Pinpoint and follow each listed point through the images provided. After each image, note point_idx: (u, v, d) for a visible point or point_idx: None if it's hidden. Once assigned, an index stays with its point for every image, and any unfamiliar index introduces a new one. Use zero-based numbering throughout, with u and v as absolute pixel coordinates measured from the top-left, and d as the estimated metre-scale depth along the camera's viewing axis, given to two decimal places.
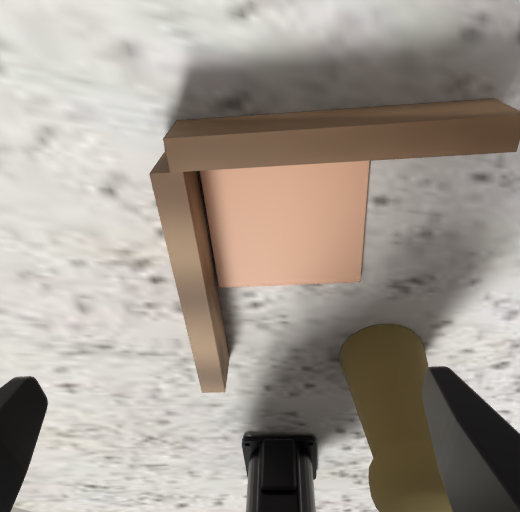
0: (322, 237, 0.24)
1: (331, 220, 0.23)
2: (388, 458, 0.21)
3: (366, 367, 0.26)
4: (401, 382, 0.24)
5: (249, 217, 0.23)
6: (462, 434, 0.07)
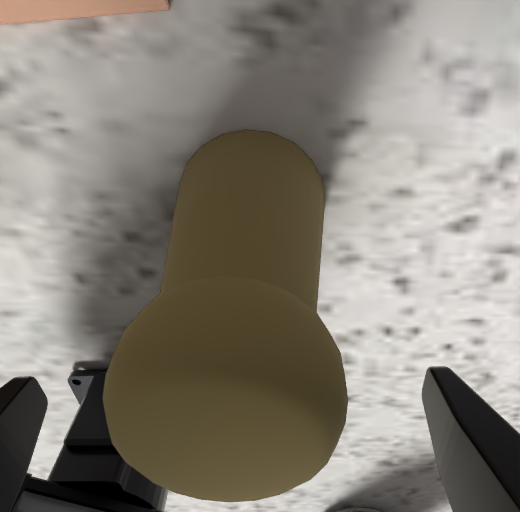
0: None
1: None
2: (138, 316, 0.08)
3: (189, 190, 0.13)
4: (237, 196, 0.12)
5: None
6: (462, 434, 0.07)
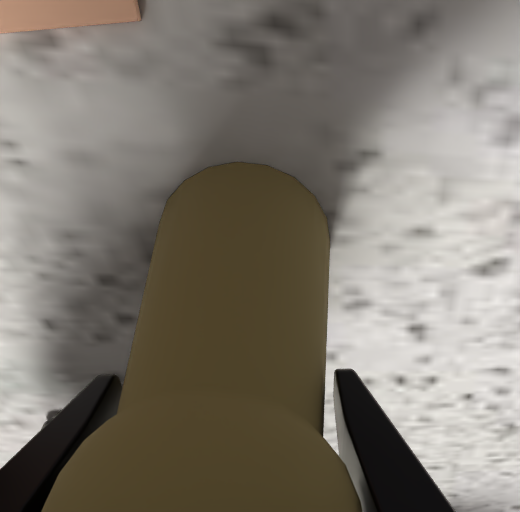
0: None
1: None
2: (76, 458, 0.06)
3: (166, 241, 0.11)
4: (222, 256, 0.09)
5: None
6: (348, 436, 0.07)
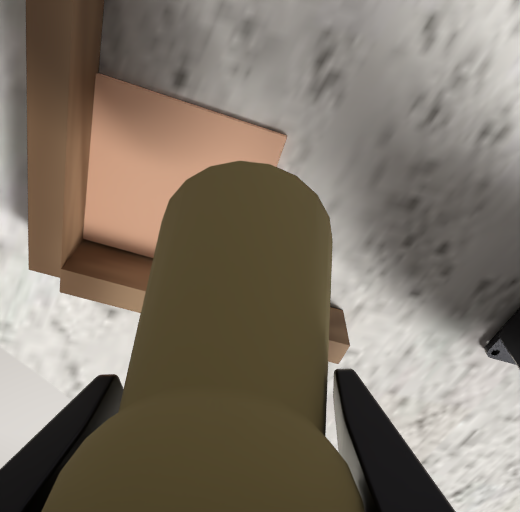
0: (205, 162, 0.20)
1: (186, 145, 0.19)
2: (77, 457, 0.06)
3: (168, 239, 0.11)
4: (223, 255, 0.09)
5: (159, 223, 0.22)
6: (348, 436, 0.07)
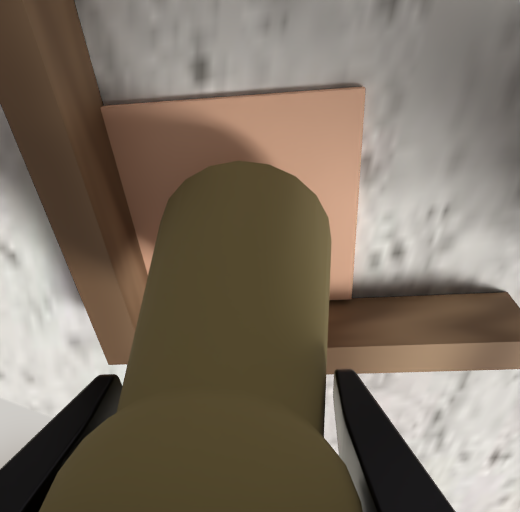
0: None
1: (235, 152, 0.15)
2: (75, 457, 0.06)
3: (167, 239, 0.11)
4: (223, 255, 0.09)
5: None
6: (347, 436, 0.07)
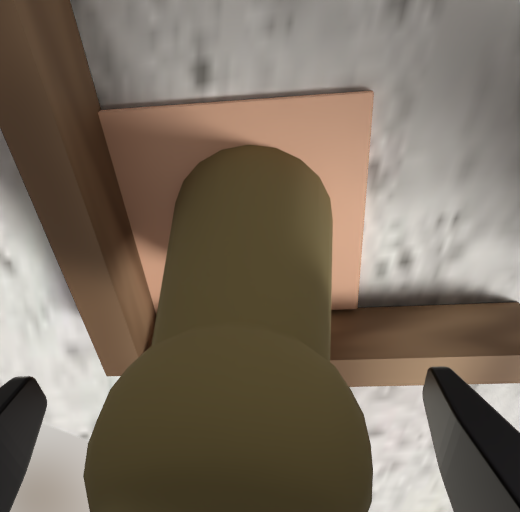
0: None
1: None
2: (126, 375, 0.07)
3: (186, 213, 0.12)
4: (240, 222, 0.10)
5: None
6: (463, 434, 0.07)
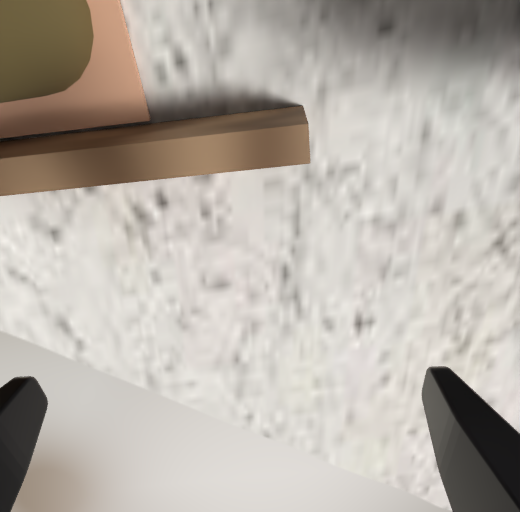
0: None
1: None
2: None
3: None
4: None
5: None
6: (462, 434, 0.07)
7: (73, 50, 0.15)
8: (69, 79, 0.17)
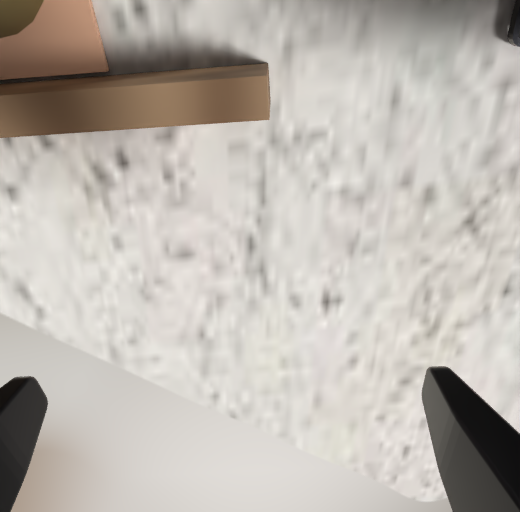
0: None
1: None
2: None
3: None
4: None
5: None
6: (462, 434, 0.07)
7: None
8: (19, 19, 0.16)
